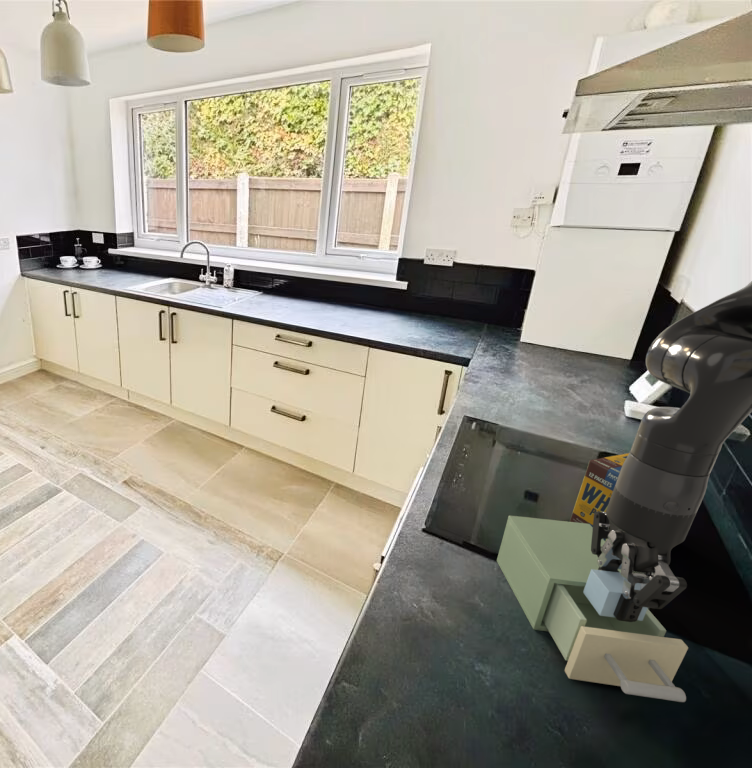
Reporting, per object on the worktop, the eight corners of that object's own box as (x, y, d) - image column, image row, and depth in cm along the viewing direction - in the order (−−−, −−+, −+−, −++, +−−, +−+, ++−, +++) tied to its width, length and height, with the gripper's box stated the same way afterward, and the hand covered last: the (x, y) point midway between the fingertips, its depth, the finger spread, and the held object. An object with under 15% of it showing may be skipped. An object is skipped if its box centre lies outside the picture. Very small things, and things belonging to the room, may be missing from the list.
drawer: (696, 734, 53) (723, 686, 50) (590, 717, 55) (609, 670, 52) (603, 608, 70) (619, 567, 67) (524, 598, 72) (536, 558, 69)
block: (622, 597, 62) (632, 573, 61) (642, 621, 58) (653, 596, 57) (582, 592, 63) (591, 568, 61) (599, 615, 59) (609, 591, 57)
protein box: (565, 528, 90) (588, 459, 84) (621, 515, 94) (646, 449, 89) (621, 565, 80) (650, 489, 75) (680, 549, 85) (711, 476, 79)
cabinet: (627, 642, 66) (649, 590, 62) (533, 629, 67) (550, 578, 64) (573, 569, 79) (589, 523, 76) (496, 560, 81) (508, 515, 77)
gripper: (743, 536, 47) (684, 657, 53) (649, 467, 61) (610, 570, 66) (663, 528, 48) (613, 647, 54) (588, 461, 62) (554, 563, 67)
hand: (612, 604), depth 60 cm, fingers closed on block, 4 cm apart
